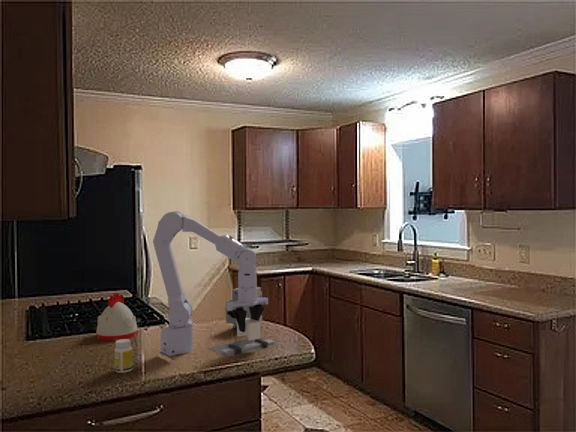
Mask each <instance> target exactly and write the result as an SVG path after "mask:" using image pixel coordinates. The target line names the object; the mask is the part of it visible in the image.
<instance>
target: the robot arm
mask: <svg viewBox="0 0 576 432" xmlns="http://www.w3.org/2000/svg"><path fill="white" fill-rule="evenodd" d="M180 231H182V232H183V233H188V232H189V233H194V234H196V235H198V236H199V237H201V238H203V239H205V240H206V241H208V242H210V243H212V244H214V245H215V249H216V251H217V252H219V253H221V254H222V255H224V256H225V257H227V258H229V259H230V260H231V261H236V262H237V264H238V272H237V278H238V279H237V280H238V281H237V285H238V287H237V288H238V294H239V301H235V302H232V303H228V304H226V303H225V308H226V307H227V310H229V311H232V312H233V314H234V316H235V318H236V320H237V323H238V326H239V331H241V332H245V319H246V314H247V311H245V310H244V309H243V308H246V307H249V310H250V315H251V319H253V320H257V321H259V319H260V316H261V315H262V314H263V311H265V306H263V305H269V298H268V297H262V298H257V287H258V286H257V285H258V284H257V283H258V282H257V279H258V277H257V271H256V270H257V266H256V264H257V261H258V259H257V254H256V252H255V251H254V250H253V249H252V248H251V247H248V246H247V244H245V243H244V244H242V243H241V242H239V241H237V240H236V239H234V236H233V235H232V234H230V235H228V234H223V235H220V234H218V233H216V232H215V231H214V230H212V229H210V227H207V226H206V225H205V224H204V223H202V222H200V221H198V220H197V219H195V218H193V217H192V216H188V215H186V214H183V213H182V212H180V211H170V212H169V211H168V212H166V213H165V214H164V215H163V216H162V217H161V219H160V220H159V221H158V223H157V227H156V231H155V233H154V236H153V237H154V238H153V239H152V240H153V241H152V244H153V247H154V250H155V254H156V258H157V262H158V266H159V269H160V270H159V271H160V274H161V276H162V280H163V284H164V288H165V291H166V295H167V305H168V315H167V316H168V318H167V319H168V322H169V323H168V326H166V327H163V328H161V330H160V352H159V354H160V355H163V356H164V357H166V358H168V359H171V360H172V359H173V358H172V357H171V356H176V355H180V354H188V353H191V352H193V351H194V331H193V330H194V329H193V328H194V324H193V321H192V320H191V316H192V315H193V310H194V309H193V306H192V304H191V303H190V302H189V301H188V299H187V296H186V294H185V292H184V289H183V285H182V282H181V279H180V274H179V272H178V268H177V264H176V260H175V255H174V252H173V249H172V246H171V243H172V241H173V240H174V238H175V237H176V235H177V234H179V233H180Z"/></svg>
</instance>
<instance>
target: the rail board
mask: <svg viewBox="0 0 576 432" xmlns="http://www.w3.org/2000/svg"><path fill="white" fill-rule="evenodd" d="M279 345H281V344H280V343H277V342H275V341H274V340H272V339H266V338H262V337H260V338H259V339H255V340H248V338H246V339H243V340H239V341H233V342H229V343H224V344H220V345H215V346H211V347H207V348H206V349H207V350H210V351H212V352H215V353H216V354H220V355H222V356H224V357H227V358H229V357H233V356H237V355H242V354H246V353H250V352H254V351H255V352H256V351H259V350H262V349H267V348H270V347H272V348H273V347H275V346H276V347H277V346H279Z"/></svg>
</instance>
